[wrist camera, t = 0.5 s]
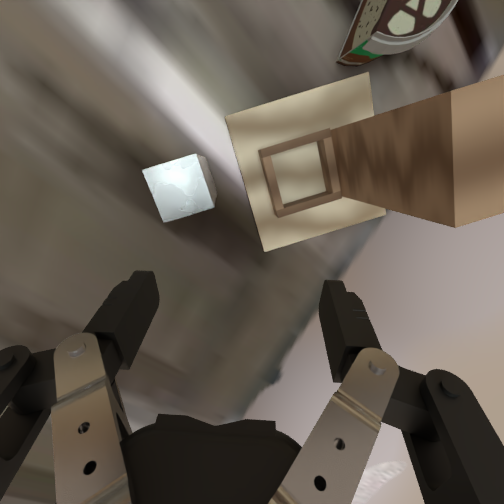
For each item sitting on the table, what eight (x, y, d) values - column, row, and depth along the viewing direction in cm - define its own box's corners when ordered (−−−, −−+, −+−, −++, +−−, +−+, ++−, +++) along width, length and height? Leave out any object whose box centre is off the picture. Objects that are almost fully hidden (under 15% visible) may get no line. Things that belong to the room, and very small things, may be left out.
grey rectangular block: (171, 167, 34) (141, 170, 22) (206, 157, 34) (195, 153, 22) (185, 202, 35) (163, 223, 23) (217, 192, 35) (214, 207, 23)
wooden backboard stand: (224, 117, 33) (225, 46, 13) (364, 74, 33) (581, -65, 13) (263, 249, 39) (304, 341, 19) (381, 213, 39) (548, 265, 19)
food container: (372, 97, 34) (430, 71, 24) (330, 75, 32) (373, 38, 23) (424, -16, 30) (514, -97, 21) (379, -45, 29) (453, -145, 20)
